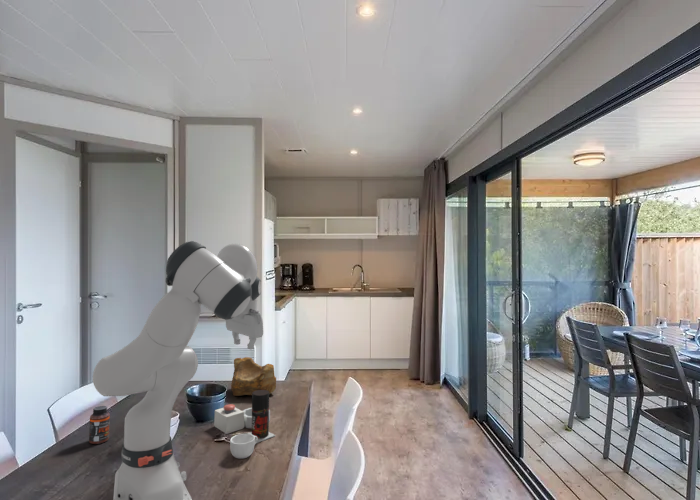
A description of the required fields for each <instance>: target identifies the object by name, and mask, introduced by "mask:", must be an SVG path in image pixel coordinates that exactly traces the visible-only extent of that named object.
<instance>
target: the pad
mask: <svg viewBox="0 0 700 500" xmlns="http://www.w3.org/2000/svg"><path fill="white" fill-rule="evenodd" d="M248 434H252V431H251V432H248ZM275 437H276V434H274V433H272V432H270V431H269V435H268V436H267V437H265V438H262V439H258V441H257V443H256V444H258V443H261V442H264V441H267V440H269V439H271V438H275ZM255 441H256V439H255Z"/></svg>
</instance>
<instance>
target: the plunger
mask: <svg viewBox="0 0 700 500" xmlns="http://www.w3.org/2000/svg"><path fill="white" fill-rule="evenodd" d="M235 407H236V405H235V404H233V403H231V404H225V405H224V406H223V408H224V410H225V411H224V413H226V414H229V413H233V412H234V409H235Z"/></svg>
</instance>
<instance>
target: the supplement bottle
mask: <svg viewBox="0 0 700 500" xmlns="http://www.w3.org/2000/svg"><path fill="white" fill-rule="evenodd" d="M110 417H111V415H110V412H108V407H107V405H98V406H95V407H93V411H92V414H91V415H90V416H89V431H88V442H89V444H92V445H100V444H103V443H105V442H107V441H108V440H109V439H110V431H111V430H110V425H111V424H110V423H111V422H110V421H111V420H110V419H111V418H110Z"/></svg>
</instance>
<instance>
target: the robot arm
mask: <svg viewBox="0 0 700 500" xmlns="http://www.w3.org/2000/svg"><path fill="white" fill-rule="evenodd" d="M258 269H259V268H258V262H257V259H256V257H255V255H254V254H253V252H252V251H251V250H250V249H249V247H247V246H245V245H243V244H240V243H231V244H227V245H225V246H223V247H222V248H221V249H220V250H219V253H218V254H217V255H216V254H214V253H213V252H212V251H210V250H208V249H207V247H206V246H204V245H203V244H201V243H199V242H196V241H194V240H191V241H186V242H183V243H181V244H180V245H178V247H177V248H175V249H174V250H173V251H172V252H171V254H170V255H169V256H168V258H167V262H166V266H165V274H166V278H165V285H167V286H168V287H171V289H170V290H169V291H168V292H167V293H165V294H164V295H163V296H162V297H161V298H160V300H158V302H157V303H156V304H155V306H154V307H153V309H152V310H151V312H150V314H149V316H148V317H147V319H146V321H145V324H144V326H143V327H142V329H141V331H140V333H139V334H138V336H136V338H134V339H133V340H132V341H131V342H130V343H128V344H127V345H126V346H124V347H122V348H121V349H119V350H118V351H116V352H114V353H111V354H110V355H107V356H104V357H102V358H100V360H99V361H98V363H96V365H95V367H94V370H93V372H92V384H93V386H94V388H95V390H96V391H97V392H98V393H99V395H101V396H103V397H124V396H125V397H127V396H130V395H136V394H140V393H145V392H146V393H145V395H144V397H143V398H142V399H141V400H140V401H139V402H137V403H136V404H135V405H133V406H132V407H131V408H130V409H129V410H128V411H127V414H126V415H125V418H124V428H123V429H124V431H123V433H124V434H123V438H124V439H123V444H122V447H121V452H120V454H121V461H122V462H121V464H120V466H119V468H118V469H117V470H116V472H115V475H114V487H113V499H112V500H193V499H192V496H191V494H190V493H189V491H188V489H187V487H186V485H185V481H186V480H187V477H188V476H187V471H185V470H183V471H180V465H181V464H180V463H181V462H180V461H176V458H175V454H174V449H173V448H174V445H173V441H172V437H171V422H172V412H173V408H174V406H175V405H174V404H175V403H176V400H177V398H178V397H179V396H178V395H179V394H180V392H181V391H182V390H183V389H184V387H185V386H186V384H188V382H189V381H191V380H192V379H193V378H194V376H195V374H196V373H197V371H198V367H199V361H198V360H199V358H198V355H197V353H196V352H195V350H194V349H193V348H192V347H191V346H190V345H188V344H189V343H190V340H191V339H192V337H193V335H194V333H195V331H196V330H197V329H196V328H197V326H198V323H199V320H200V317H201V316H200V315H201V312H202V307H201V306H203V307H205V308H206V309H208V310H209V311H211V312H212V313H213V315H215V316H216V317H219V318H220V319H222V320H225V327H226V330H227V331H230V332H231V334H232V338H233V343H234V345H237V346H238V345H240V344H241V338H240V335H242V336H246V337H248V340H249V342H248V343H247V349H249V350H254V348H255V343H256V341H257V339H258V338H262V337H263V336H264V321H263V317H262V315H261V314H260V311H259V310H258V298H259V296H261V293H262V292H261V282H262V281H261V278H260V277H258Z"/></svg>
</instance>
